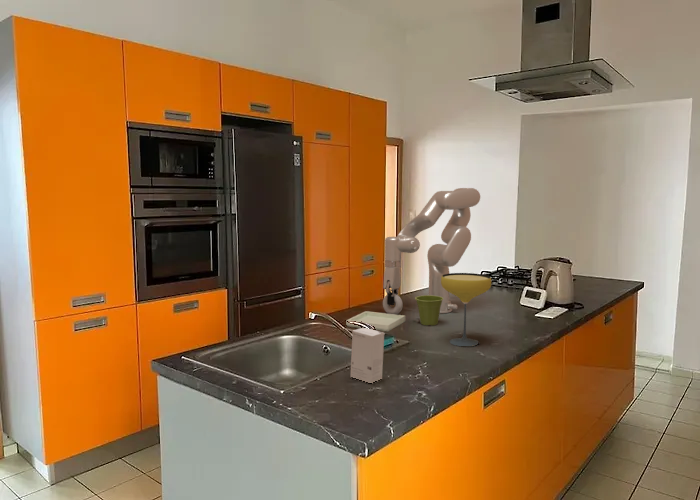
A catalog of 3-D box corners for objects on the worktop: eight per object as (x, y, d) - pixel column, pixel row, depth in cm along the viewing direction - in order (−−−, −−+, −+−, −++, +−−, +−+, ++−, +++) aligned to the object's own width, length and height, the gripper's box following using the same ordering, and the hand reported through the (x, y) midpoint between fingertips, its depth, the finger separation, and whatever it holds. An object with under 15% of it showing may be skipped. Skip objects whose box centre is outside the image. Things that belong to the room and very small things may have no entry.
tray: (405, 321, 228) (405, 315, 228) (388, 331, 211) (388, 325, 211) (365, 316, 237) (365, 311, 237) (346, 326, 220) (346, 320, 220)
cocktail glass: (481, 352, 184) (483, 282, 181) (432, 345, 192) (434, 278, 190) (494, 340, 199) (496, 275, 196) (448, 333, 208) (450, 271, 205)
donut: (404, 315, 239) (404, 293, 238) (400, 317, 236) (400, 295, 235) (384, 312, 244) (384, 291, 243) (381, 314, 241) (381, 292, 240)
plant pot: (419, 319, 232) (420, 294, 231) (446, 322, 227) (446, 296, 225) (410, 325, 221) (411, 299, 220) (438, 328, 216) (438, 301, 215)
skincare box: (350, 378, 158) (350, 330, 157) (362, 373, 163) (362, 326, 161) (372, 385, 153) (372, 335, 151) (384, 379, 158) (384, 331, 156)
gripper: (392, 261, 246) (392, 299, 249) (377, 265, 232) (377, 306, 234) (407, 262, 243) (406, 301, 245) (393, 267, 228) (393, 308, 230)
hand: (392, 303), depth 239 cm, fingers closed on donut, 3 cm apart
